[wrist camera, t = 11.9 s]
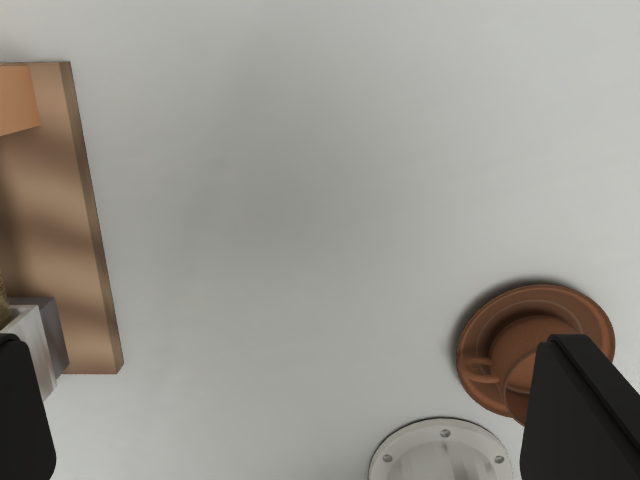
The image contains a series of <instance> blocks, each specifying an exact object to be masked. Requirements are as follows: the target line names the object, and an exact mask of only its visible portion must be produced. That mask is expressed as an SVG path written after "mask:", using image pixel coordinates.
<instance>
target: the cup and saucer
mask: <svg viewBox="0 0 640 480" xmlns="http://www.w3.org/2000/svg"><path fill="white" fill-rule="evenodd" d="M551 334H586V335H587V336H588V337H590V339H591V340H592V341H593V342H594V343H595V344H596V346H597V347H598V348H599V349H600V350H601V351H602V352H603V354H604V355H605V356H606V357H607V358H608V359H609V360H610V362H611V363H612V362H613V358H614V354H615V335H614V330H613V327H612V324H611V322H610V320H609V318H608V316H607V315H606V313H605V312H604V311H603V310H602V308H601V307H600V306H599V305H598V304H597V303H595V302H594V301H593V300H591V299H590V298H589V297H587V296H585V295H583V294H582V293H580V292H577V291H575V290H573V289H569V288H566V287H562V286H557V285H545V284H540V285H530V286H524V287H520V288H516V289H513V290H510V291H508V292H505V293H503V294H501V295H499V296H497V297H495V298H494V299H492V300H491V301H489V302H488V303H486V304H485V305H484V306H482V307H481V308H480V309H479V310H478V311H477V312H476V313H475V314H474V315H473V317H472V318H471V319H470V320H469V322H468V323H467V325H466V327H465V328H464V330H463V332H462V334H461V337H460V340H459V343H458V347H457V371H458V375H459V378H460V381H461V383H462V385H463V387H464V389H465V390H466V392H467V393H468V394H469V395H470V397H471V398H472V399H473V400H474V401H476V402H477V403H478V404H479V405H481V406H482V407H484V408H485V409H487V410H489V411H491V412H493V413H496V414H498V415H502V416H505V417H510V418H513V419H514V420H516V421H517V422H518V423H519V424H521V425H522V426H524V427H525V421H526V415H527V408H528V402H529V395H530V389H531V382H532V376H533V369H534V363H535V356H536V350H537V346H538V344H539V343H540V342H547V339H548V337H549V335H551Z"/></svg>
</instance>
